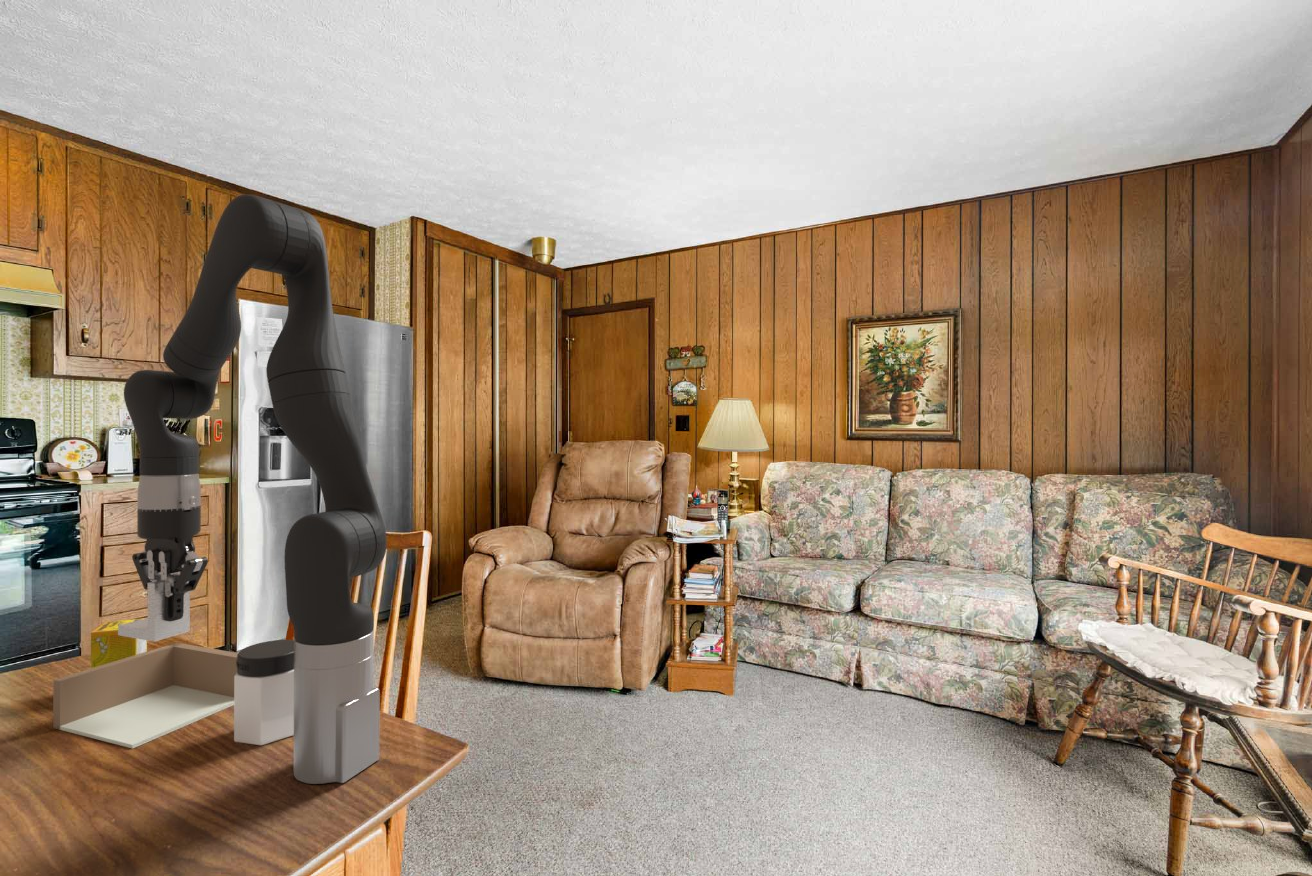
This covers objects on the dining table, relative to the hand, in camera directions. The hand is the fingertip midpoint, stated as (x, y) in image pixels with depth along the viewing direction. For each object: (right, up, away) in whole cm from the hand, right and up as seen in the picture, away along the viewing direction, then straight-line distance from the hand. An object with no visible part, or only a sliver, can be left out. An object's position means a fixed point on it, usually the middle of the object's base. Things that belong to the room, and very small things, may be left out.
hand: (169, 618), depth 94 cm
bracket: (-3, -3, +1) cm, 4 cm away
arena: (-3, -15, +2) cm, 15 cm away
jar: (+18, -15, -4) cm, 24 cm away
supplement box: (-16, -15, +10) cm, 24 cm away
